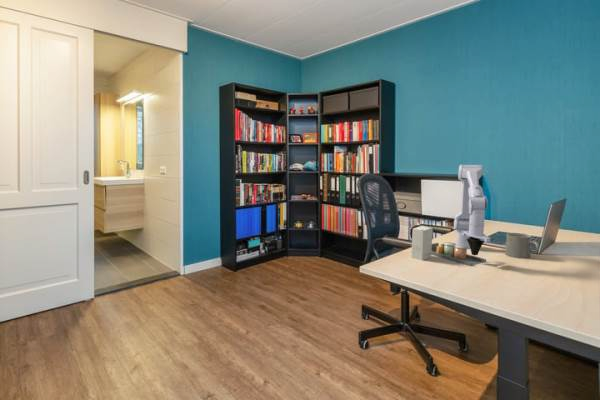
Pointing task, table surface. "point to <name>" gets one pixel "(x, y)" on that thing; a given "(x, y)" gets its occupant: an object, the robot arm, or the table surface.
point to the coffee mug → (520, 245)
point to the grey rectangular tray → (469, 259)
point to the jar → (460, 252)
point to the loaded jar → (449, 249)
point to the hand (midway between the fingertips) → (474, 254)
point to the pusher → (440, 249)
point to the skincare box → (421, 243)
